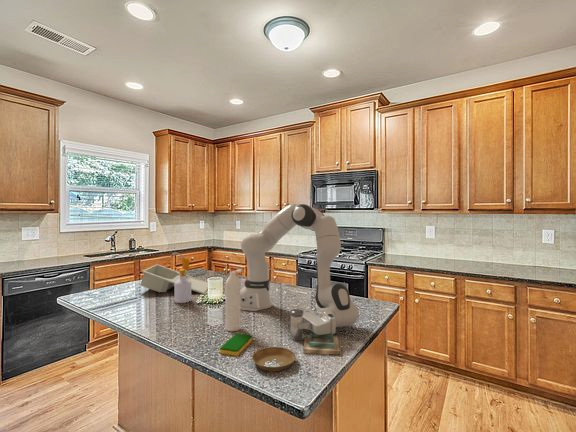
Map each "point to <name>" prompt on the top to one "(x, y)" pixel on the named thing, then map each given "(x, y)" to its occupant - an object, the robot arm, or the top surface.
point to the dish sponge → (236, 344)
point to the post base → (321, 344)
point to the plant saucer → (273, 353)
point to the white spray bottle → (233, 302)
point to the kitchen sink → (168, 279)
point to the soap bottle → (183, 285)
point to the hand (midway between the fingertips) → (294, 323)
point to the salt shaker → (295, 319)
